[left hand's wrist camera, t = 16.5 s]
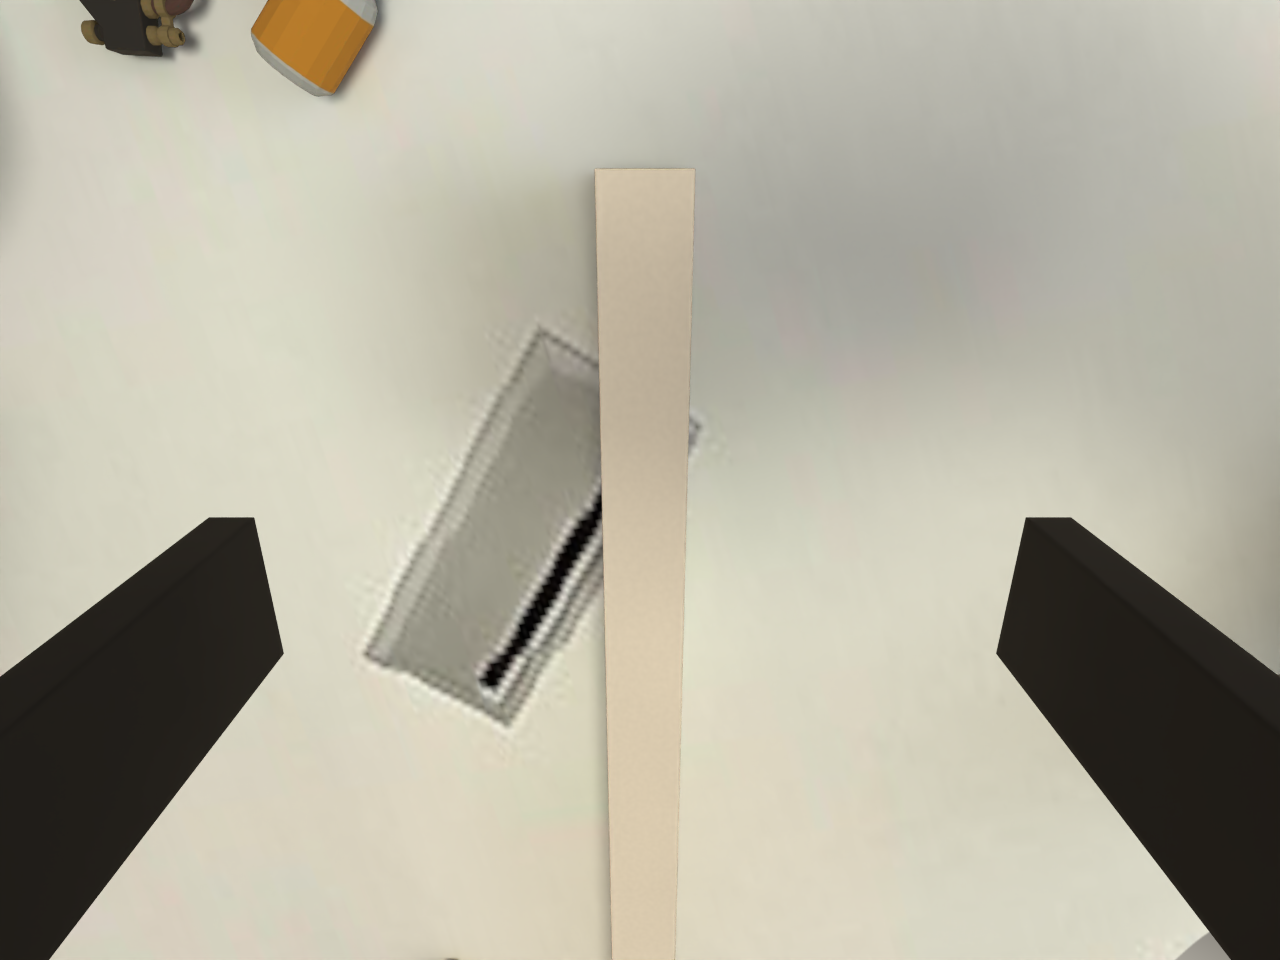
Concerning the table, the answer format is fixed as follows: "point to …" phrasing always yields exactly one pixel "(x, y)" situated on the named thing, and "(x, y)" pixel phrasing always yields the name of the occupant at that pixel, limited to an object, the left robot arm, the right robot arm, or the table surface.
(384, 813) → the table surface
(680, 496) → the post
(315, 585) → the table surface
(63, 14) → the table surface
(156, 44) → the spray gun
